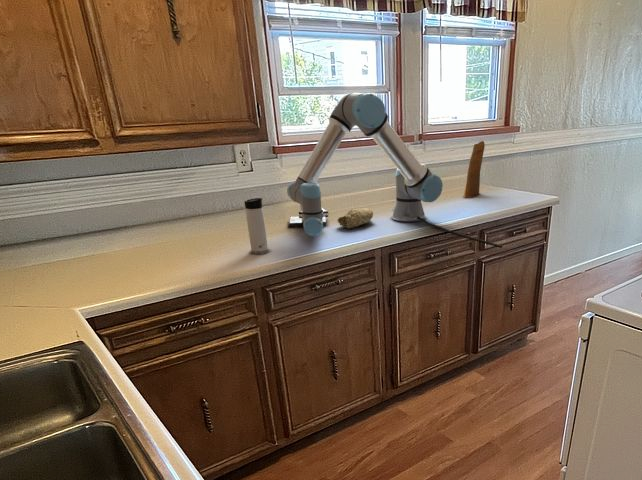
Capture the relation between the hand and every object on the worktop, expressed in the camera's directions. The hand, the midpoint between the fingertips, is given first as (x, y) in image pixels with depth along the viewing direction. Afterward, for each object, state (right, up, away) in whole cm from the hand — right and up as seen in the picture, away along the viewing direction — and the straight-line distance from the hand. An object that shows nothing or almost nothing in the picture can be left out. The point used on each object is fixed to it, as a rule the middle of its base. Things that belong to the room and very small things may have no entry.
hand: (313, 206), depth 236 cm
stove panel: (-3, -8, 0) cm, 8 cm away
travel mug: (-14, -29, -38) cm, 50 cm away
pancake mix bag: (+80, +22, +55) cm, 100 cm away
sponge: (+20, -9, -1) cm, 22 cm away
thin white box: (-3, -6, -1) cm, 7 cm away
